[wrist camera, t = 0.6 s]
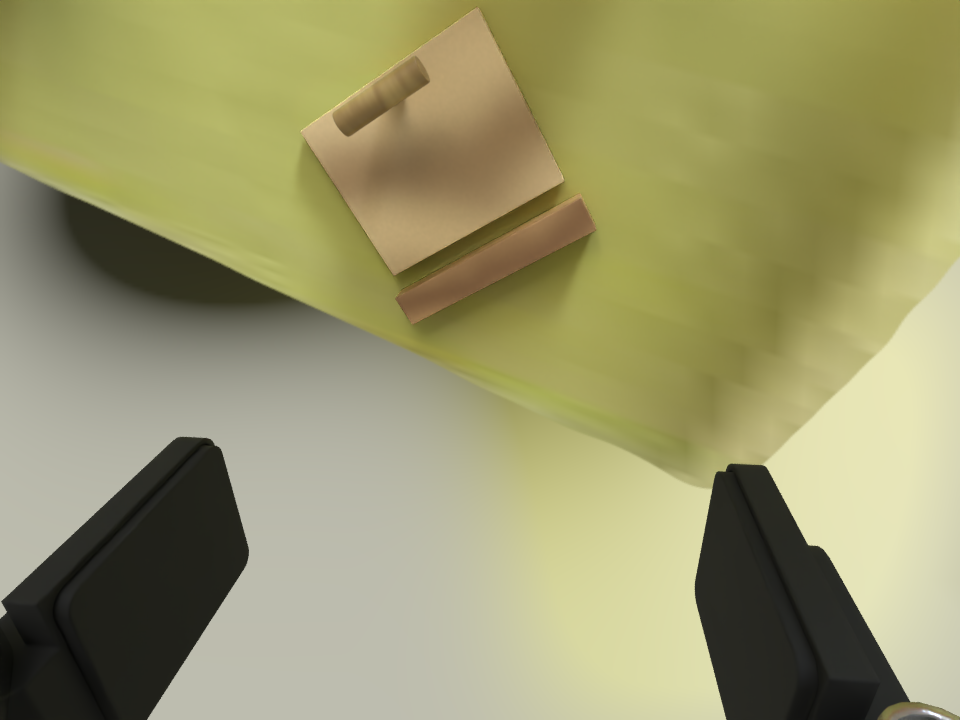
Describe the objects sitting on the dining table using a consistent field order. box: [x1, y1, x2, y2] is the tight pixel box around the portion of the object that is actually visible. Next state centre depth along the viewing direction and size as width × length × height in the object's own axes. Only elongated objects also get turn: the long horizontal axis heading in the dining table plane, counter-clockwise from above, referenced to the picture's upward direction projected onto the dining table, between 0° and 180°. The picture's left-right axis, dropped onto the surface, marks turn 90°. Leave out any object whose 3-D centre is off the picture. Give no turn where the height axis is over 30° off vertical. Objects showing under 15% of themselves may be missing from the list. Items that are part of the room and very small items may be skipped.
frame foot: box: [395, 193, 596, 325], centre depth 41 cm, size 2×15×2 cm, turn 120°
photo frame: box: [300, 7, 564, 276], centre depth 37 cm, size 12×14×5 cm
